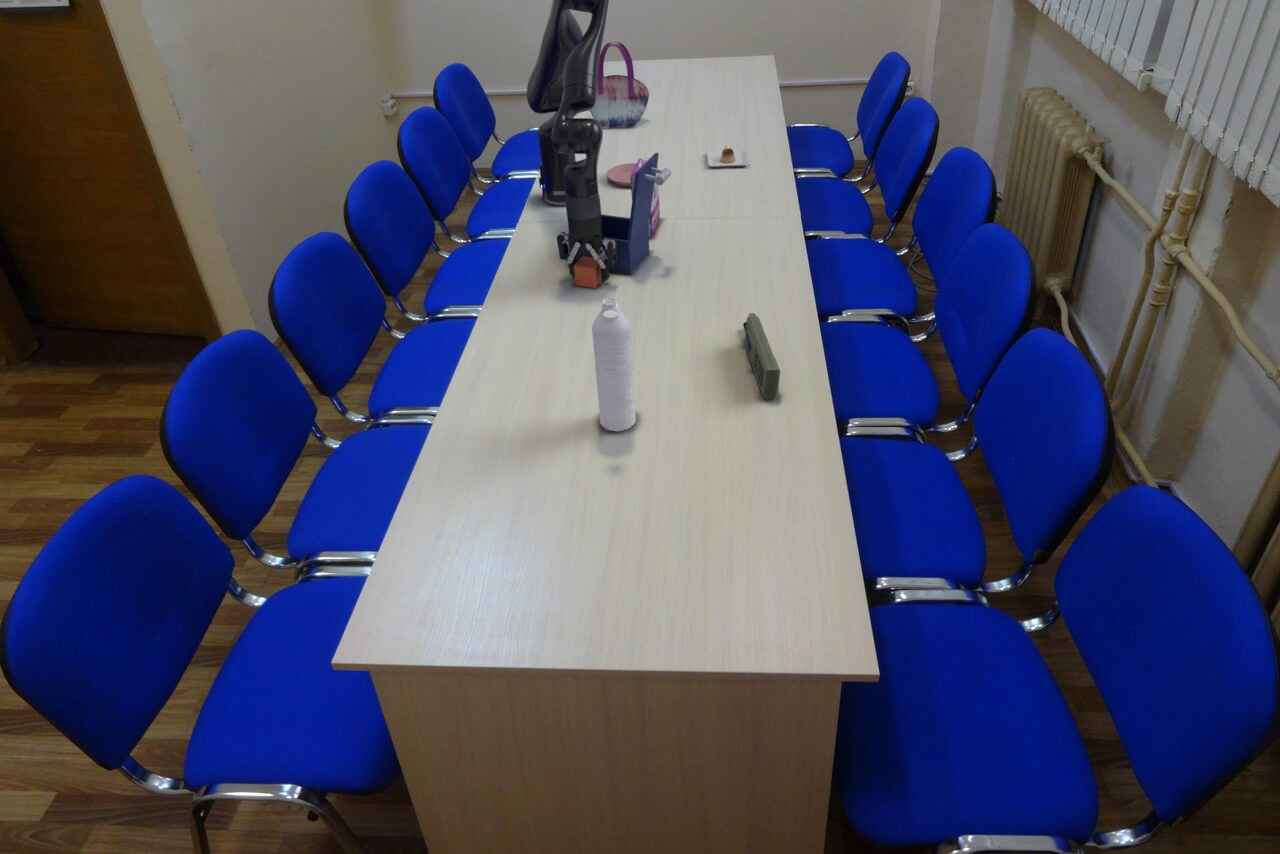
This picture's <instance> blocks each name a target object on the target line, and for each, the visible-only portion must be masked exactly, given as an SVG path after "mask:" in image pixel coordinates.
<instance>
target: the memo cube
mask: <svg viewBox="0 0 1280 854" xmlns="http://www.w3.org/2000/svg"><path fill="white" fill-rule="evenodd" d="M600 268H601V267H600V265H599V263H598V262H597V261H595V259H594V258H593V257H586V256H582V257H581V259H580V260H579V261H578V262H577V263H576V264H575V265H574V273H575V278H574V283H575V286H580V287H586V288H591V289H592V288H593V289H596V288H597V287H598V286H599V284H600V283H602V282H601V273H600Z"/></svg>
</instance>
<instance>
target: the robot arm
mask: <svg viewBox="0 0 1280 854" xmlns="http://www.w3.org/2000/svg"><path fill="white" fill-rule="evenodd" d="M609 2H610V0H552V2H551V7H550V12H549V15H548V20H547V23H546V25H545V29H544V32H543V36H542V39H541V43H540V48H539V53H538V56H537V59H536V63H535V64H534V67H533V68H532V72H531V73H530V76H529V78H528V81H527V86H526V101H527V104H528V106H529V108H530V109H531V111H532V112H533V113H535V114H538V115H543V114H551V113H553V114H552V116H551V117H550V118H549V119H548V120H546V121H545V122H543V123H542V124H540V125H539V127H538V129H537V137H538V144H539V154H540V162H541V163H540V165H539V174H540V177H539V178H538V183H539V189H541V192H542V199H543V200H545V201H544V202H545V203H546V204H548V205H551V206H555V207H556V206H557V207H562V206H565V209H566V220H567V228H568V232H569V234H567V232H565V231H561V232H560V233H558V235H557V236H556V242H557V248H558V255H559V259H560V260H561V261H566V262H567V264H568V272H569V275H570V276H571V278H572V279H575V273H574V265H575V264H576V263H577V260H576V257H577V255H578V254H582V255H583V254H586V255H589V256H593V258H594V259H595V261H597V262H598V263H599V265H600V267H601V268H600V273H601V282H600V283H604V284H605V283H606V282H607V281H608V280H609V278H610V271H609V267H612V266H613V265H614V264H615V262H616V261H617V246H616V239H615V238H613V239H611V240H608V239H604V237H603V235H602V218H601V214H602V205H601V197H600V193H599V182H598V181H599V180H598V166H599V165H598V164H599V157H600V151H601V147H602V143H603V139H604V138H603V137H604V132H603V131H604V130H603V127H601V125H600V123H599V122H598V121H597V120H595V119H594V118H593V117H585V118H583V117H580V118H579V117H578V118H577V117H576V116H577V115H578V114H581V113H584V112H589V111H590V110H591V109H592V108H594V106H595V104H596V93H597V76H598V64H599V57H600V54H601V51H602V45H603V40H604V36H605V35H604V34H605V29H606V22H607V17H608V10H609ZM571 10H572V11H578V12H581V13H587V14H591V17H590V21H589V25H588V27H587V29H586V31H585V33H583V30H582V27H581V26H580V23H579V22H578V20H577V19H576V17H575V16H574V14H573V13H572V11H571ZM576 155H585V158H583V159H581V160H577V159H576ZM568 240H569V241H570V243H571V244H572V245H573V249H572V251H571V253H569V245H568ZM603 244H604V245H605V248H606V250H607V256H606V255H605V251H604V249H603V247H602V245H603ZM597 252H599V254H598V253H597Z"/></svg>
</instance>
